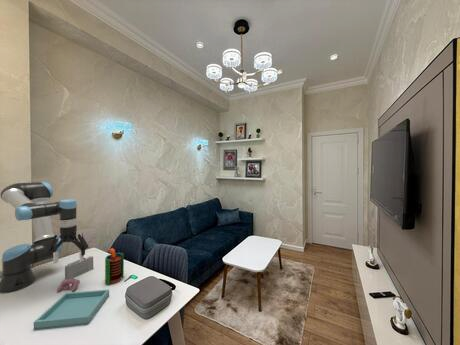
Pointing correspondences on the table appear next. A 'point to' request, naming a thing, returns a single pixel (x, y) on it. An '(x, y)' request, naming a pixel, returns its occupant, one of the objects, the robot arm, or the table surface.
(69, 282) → the video game controller
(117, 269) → the motor
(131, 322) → the table surface
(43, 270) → the table surface
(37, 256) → the robot arm
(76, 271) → the cassette player
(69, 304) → the tray
